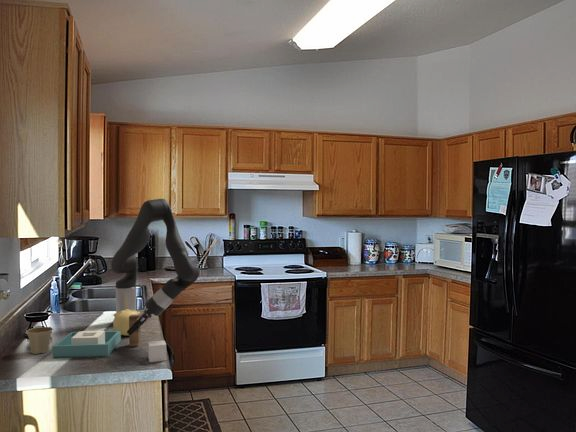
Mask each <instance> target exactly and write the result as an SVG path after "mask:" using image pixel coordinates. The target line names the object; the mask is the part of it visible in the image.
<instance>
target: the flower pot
mask: <svg viewBox="0 0 576 432" xmlns="http://www.w3.org/2000/svg"><path fill="white" fill-rule="evenodd" d="M53 330H54V328H53V327H50V326H40V327H39V326H38V327H34V328H29V329H27V330H26V331H25V332H26V334H27V337H28V341H29V348H30V353H31V354H34V355H39V354H46V353H47V352H49V351H50V341H51V335H52V333H53Z"/></svg>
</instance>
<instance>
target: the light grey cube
mask: <svg viewBox="0 0 576 432" xmlns="http://www.w3.org/2000/svg"><path fill="white" fill-rule="evenodd" d="M147 344H148V345H147V353H148V354H147V355H148V357H147V358H148V362H149V363H155V362H156V363H157V362H165V361H167V343H166V341H165V340H162V339H161V340H154V341H152V340H151V341H148V342H147Z"/></svg>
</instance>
